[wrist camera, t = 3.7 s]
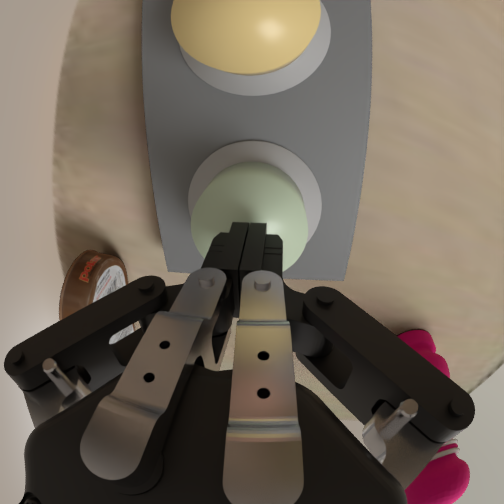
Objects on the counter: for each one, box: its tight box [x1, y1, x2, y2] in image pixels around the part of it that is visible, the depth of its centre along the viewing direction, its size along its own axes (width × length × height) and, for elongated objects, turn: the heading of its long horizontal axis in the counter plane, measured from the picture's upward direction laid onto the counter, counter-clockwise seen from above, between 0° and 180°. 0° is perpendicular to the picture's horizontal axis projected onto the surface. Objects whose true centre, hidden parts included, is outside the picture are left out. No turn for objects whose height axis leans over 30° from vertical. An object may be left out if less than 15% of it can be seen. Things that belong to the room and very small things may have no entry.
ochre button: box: [171, 0, 321, 76], centre depth 8 cm, size 6×6×2 cm
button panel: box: [142, 0, 372, 281], centre depth 11 cm, size 12×30×3 cm, turn 0°
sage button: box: [191, 162, 308, 271], centre depth 14 cm, size 6×6×2 cm
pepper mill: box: [397, 330, 470, 504], centre depth 17 cm, size 7×7×20 cm
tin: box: [59, 250, 135, 344], centre depth 21 cm, size 15×3×8 cm, turn 170°
